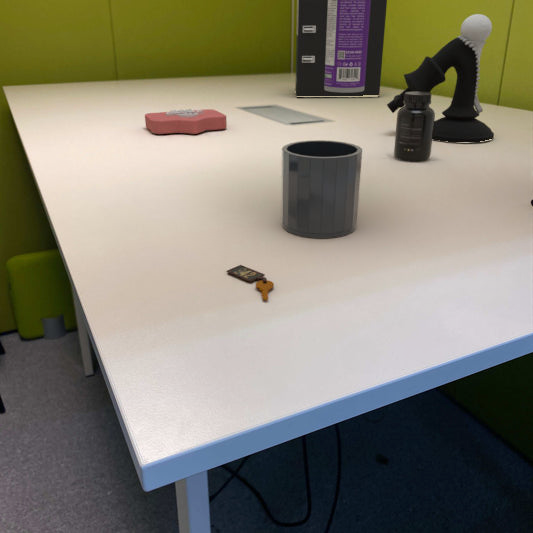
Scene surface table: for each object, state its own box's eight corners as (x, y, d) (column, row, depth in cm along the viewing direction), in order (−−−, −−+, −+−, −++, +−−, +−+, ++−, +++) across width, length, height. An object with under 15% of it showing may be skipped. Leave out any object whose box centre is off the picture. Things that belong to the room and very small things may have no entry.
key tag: (224, 270, 59) (223, 265, 58) (248, 264, 60) (247, 259, 60) (264, 301, 52) (264, 295, 52) (290, 293, 54) (290, 287, 54)
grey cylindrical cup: (317, 207, 78) (319, 137, 74) (372, 225, 71) (378, 148, 67) (266, 223, 72) (265, 148, 68) (321, 244, 65) (324, 162, 61)
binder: (372, 92, 193) (380, -10, 179) (379, 98, 179) (388, -12, 166) (295, 92, 193) (297, -9, 180) (296, 98, 180) (298, -11, 166)
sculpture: (500, 144, 115) (523, 13, 105) (386, 141, 118) (397, 14, 108) (484, 130, 129) (503, 13, 119) (382, 128, 132) (392, 14, 122)
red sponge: (155, 121, 120) (142, 111, 133) (157, 138, 122) (144, 127, 135) (232, 115, 127) (213, 106, 139) (233, 132, 128) (213, 122, 141)
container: (370, 89, 65) (382, -58, 58) (353, 93, 61) (363, -62, 55) (335, 86, 67) (342, -55, 61) (316, 90, 64) (322, -59, 57)
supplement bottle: (398, 152, 109) (404, 89, 104) (433, 155, 106) (441, 91, 101) (389, 160, 103) (395, 93, 98) (425, 163, 101) (434, 96, 96)
